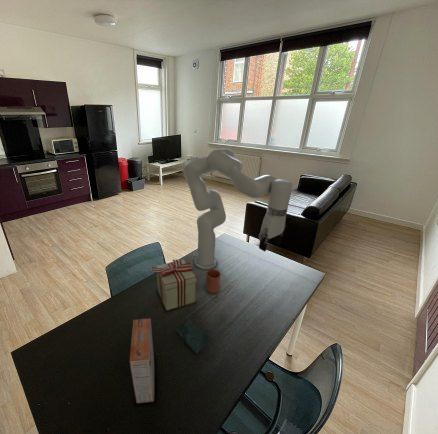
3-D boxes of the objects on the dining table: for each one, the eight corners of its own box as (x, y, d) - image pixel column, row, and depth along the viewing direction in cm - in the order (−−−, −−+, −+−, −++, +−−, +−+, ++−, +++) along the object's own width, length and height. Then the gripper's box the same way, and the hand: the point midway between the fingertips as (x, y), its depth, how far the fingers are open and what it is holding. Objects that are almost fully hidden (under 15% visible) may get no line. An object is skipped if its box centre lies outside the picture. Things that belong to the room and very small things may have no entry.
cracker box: (137, 360, 86) (132, 318, 77) (154, 359, 86) (151, 317, 77) (134, 404, 73) (128, 360, 64) (154, 402, 73) (150, 358, 64)
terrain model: (211, 342, 92) (211, 338, 91) (196, 354, 88) (196, 351, 87) (188, 321, 101) (188, 318, 100) (174, 332, 97) (174, 328, 96)
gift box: (180, 278, 126) (180, 250, 119) (198, 301, 111) (199, 272, 104) (150, 288, 120) (148, 259, 112) (164, 314, 104) (163, 283, 97)
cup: (202, 288, 119) (203, 274, 115) (209, 281, 124) (210, 267, 120) (214, 294, 115) (215, 280, 111) (221, 287, 120) (222, 272, 116)
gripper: (281, 203, 104) (274, 237, 111) (255, 212, 95) (249, 248, 102) (297, 209, 98) (289, 244, 105) (271, 219, 89) (263, 257, 97)
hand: (269, 246), depth 104 cm, fingers open, 9 cm apart
